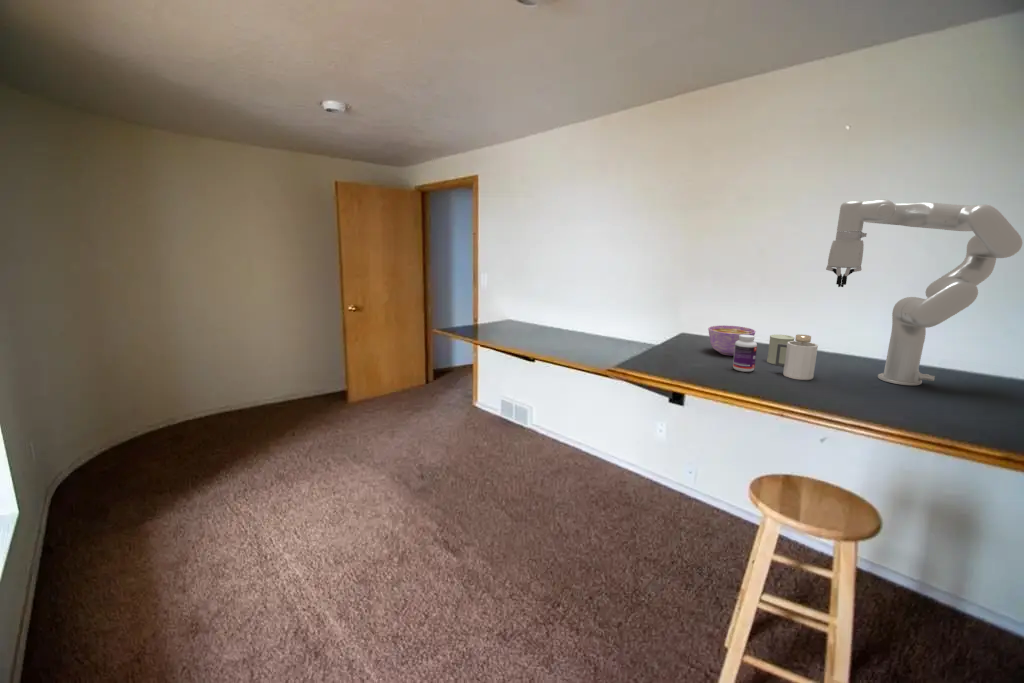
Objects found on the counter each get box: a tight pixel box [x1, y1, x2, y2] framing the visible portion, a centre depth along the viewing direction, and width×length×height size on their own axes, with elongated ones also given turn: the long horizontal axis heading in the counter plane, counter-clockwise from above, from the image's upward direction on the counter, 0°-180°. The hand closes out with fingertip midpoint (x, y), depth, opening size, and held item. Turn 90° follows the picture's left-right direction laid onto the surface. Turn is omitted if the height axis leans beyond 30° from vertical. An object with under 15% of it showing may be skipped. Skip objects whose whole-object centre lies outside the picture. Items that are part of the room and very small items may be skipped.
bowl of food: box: [707, 325, 757, 357], centre depth 209 cm, size 20×20×12 cm
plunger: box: [794, 334, 812, 346], centre depth 174 cm, size 7×7×14 cm
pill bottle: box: [732, 335, 758, 373], centre depth 183 cm, size 8×8×14 cm
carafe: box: [774, 340, 819, 381], centre depth 175 cm, size 13×10×13 cm
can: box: [766, 334, 795, 365], centre depth 194 cm, size 9×9×12 cm
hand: (840, 286), depth 168 cm, fingers closed
